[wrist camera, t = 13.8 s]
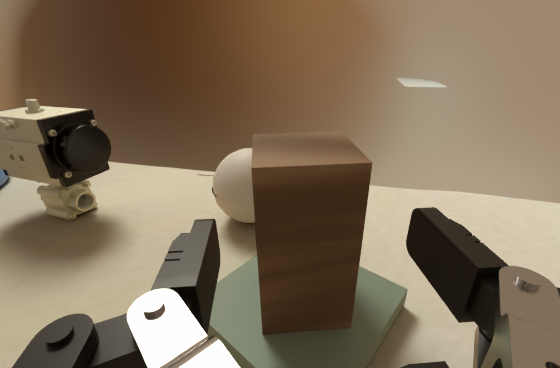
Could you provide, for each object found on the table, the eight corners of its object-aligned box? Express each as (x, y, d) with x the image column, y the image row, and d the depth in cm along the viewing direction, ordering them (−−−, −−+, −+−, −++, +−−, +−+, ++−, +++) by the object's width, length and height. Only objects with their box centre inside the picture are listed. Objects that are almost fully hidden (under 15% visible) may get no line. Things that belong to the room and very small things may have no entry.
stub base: (319, 447, 13) (328, 329, 9) (191, 320, 19) (169, 221, 15) (403, 305, 19) (426, 208, 16) (289, 246, 25) (289, 166, 22)
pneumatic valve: (58, 194, 35) (18, 93, 30) (131, 209, 32) (99, 98, 26) (7, 217, 31) (-51, 102, 26) (85, 238, 27) (35, 109, 22)
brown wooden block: (351, 328, 16) (372, 162, 12) (262, 334, 16) (251, 167, 12) (330, 266, 21) (340, 131, 16) (261, 271, 20) (252, 134, 16)
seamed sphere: (301, 210, 31) (302, 145, 28) (259, 247, 25) (255, 171, 22) (231, 189, 36) (225, 131, 33) (184, 216, 30) (171, 149, 27)
